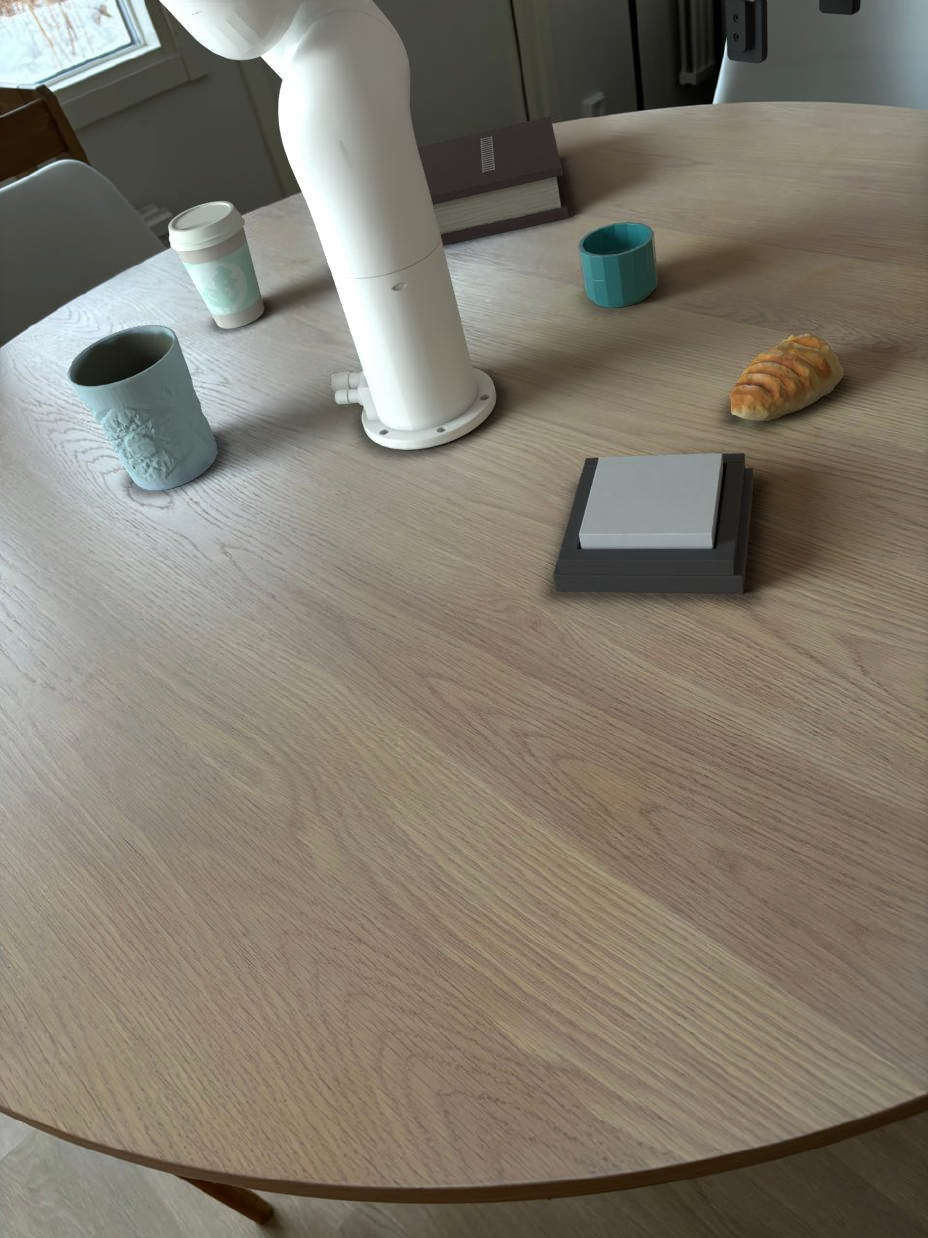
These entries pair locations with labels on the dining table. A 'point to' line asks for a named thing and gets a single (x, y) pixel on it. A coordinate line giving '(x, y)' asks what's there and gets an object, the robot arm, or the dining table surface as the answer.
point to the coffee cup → (218, 261)
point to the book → (495, 180)
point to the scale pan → (653, 502)
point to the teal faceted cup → (619, 264)
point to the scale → (663, 566)
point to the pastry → (786, 378)
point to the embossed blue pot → (146, 405)
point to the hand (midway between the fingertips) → (794, 35)
